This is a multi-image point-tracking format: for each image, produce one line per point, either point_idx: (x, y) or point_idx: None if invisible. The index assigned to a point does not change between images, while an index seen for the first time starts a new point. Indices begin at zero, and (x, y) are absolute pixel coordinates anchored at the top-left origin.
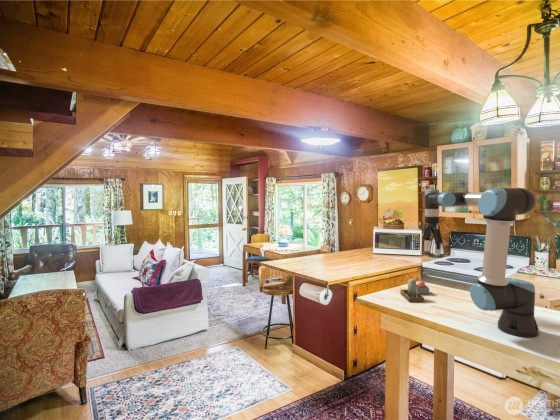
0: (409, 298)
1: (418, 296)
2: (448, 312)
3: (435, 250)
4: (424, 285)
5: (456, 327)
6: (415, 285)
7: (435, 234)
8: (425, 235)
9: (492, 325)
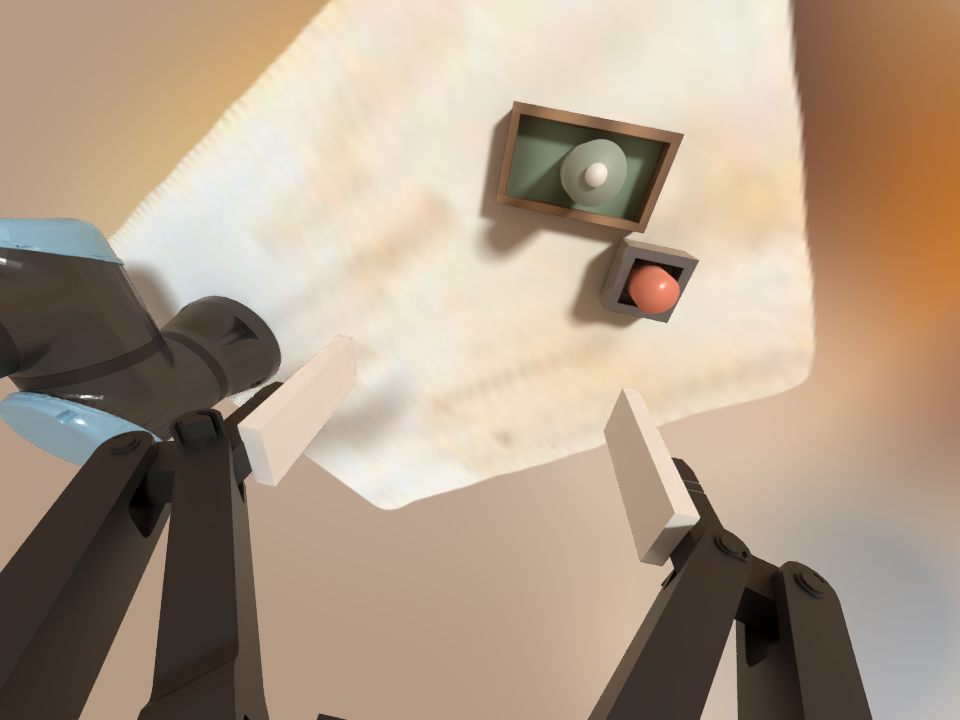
0: (513, 106)
1: (561, 206)
2: (366, 233)
3: (308, 365)
4: (633, 299)
5: (211, 158)
6: (564, 187)
7: (42, 611)
8: (713, 637)
9: (259, 301)
